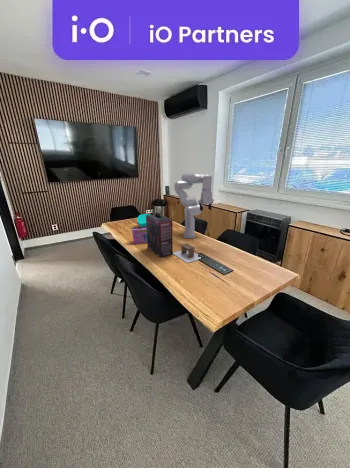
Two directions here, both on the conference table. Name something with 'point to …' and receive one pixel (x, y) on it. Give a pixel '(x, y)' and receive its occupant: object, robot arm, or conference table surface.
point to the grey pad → (186, 257)
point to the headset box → (159, 234)
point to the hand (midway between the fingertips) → (205, 209)
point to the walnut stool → (187, 247)
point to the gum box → (139, 235)
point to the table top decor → (142, 220)
